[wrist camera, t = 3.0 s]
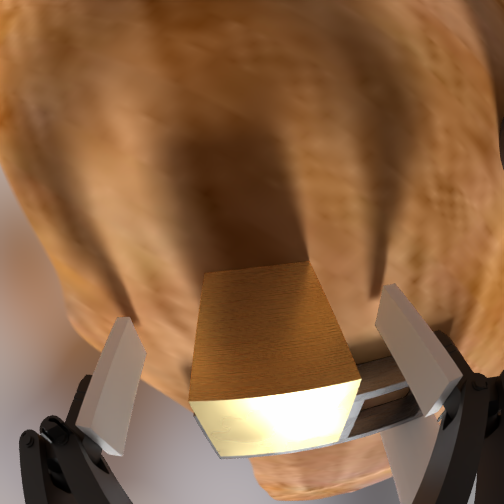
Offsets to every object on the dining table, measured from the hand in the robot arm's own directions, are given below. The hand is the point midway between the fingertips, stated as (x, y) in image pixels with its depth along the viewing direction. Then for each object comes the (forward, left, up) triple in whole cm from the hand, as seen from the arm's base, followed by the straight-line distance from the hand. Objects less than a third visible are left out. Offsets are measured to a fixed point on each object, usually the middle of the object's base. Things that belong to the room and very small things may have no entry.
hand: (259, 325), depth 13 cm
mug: (+20, +15, -1) cm, 26 cm away
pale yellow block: (0, 0, -1) cm, 1 cm away
